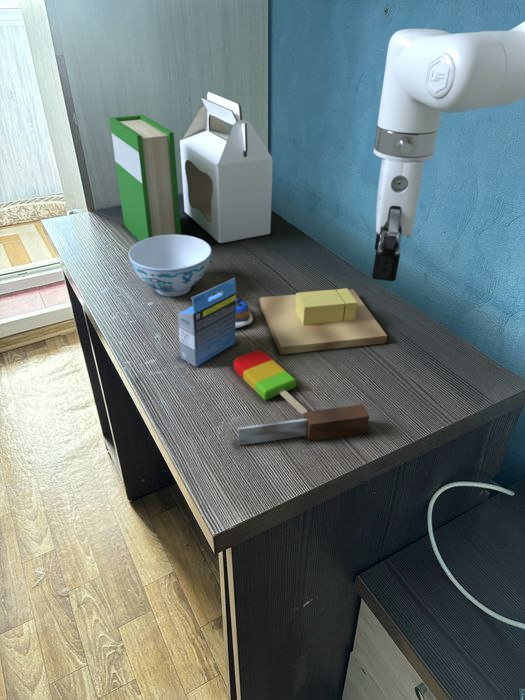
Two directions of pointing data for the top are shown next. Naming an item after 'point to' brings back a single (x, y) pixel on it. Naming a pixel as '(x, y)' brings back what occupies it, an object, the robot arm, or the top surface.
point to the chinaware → (170, 262)
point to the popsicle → (267, 377)
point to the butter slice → (348, 304)
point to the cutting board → (318, 327)
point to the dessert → (242, 313)
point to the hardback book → (146, 176)
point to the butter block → (319, 307)
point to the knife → (310, 426)
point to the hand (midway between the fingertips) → (384, 264)
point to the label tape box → (208, 324)
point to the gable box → (226, 173)
